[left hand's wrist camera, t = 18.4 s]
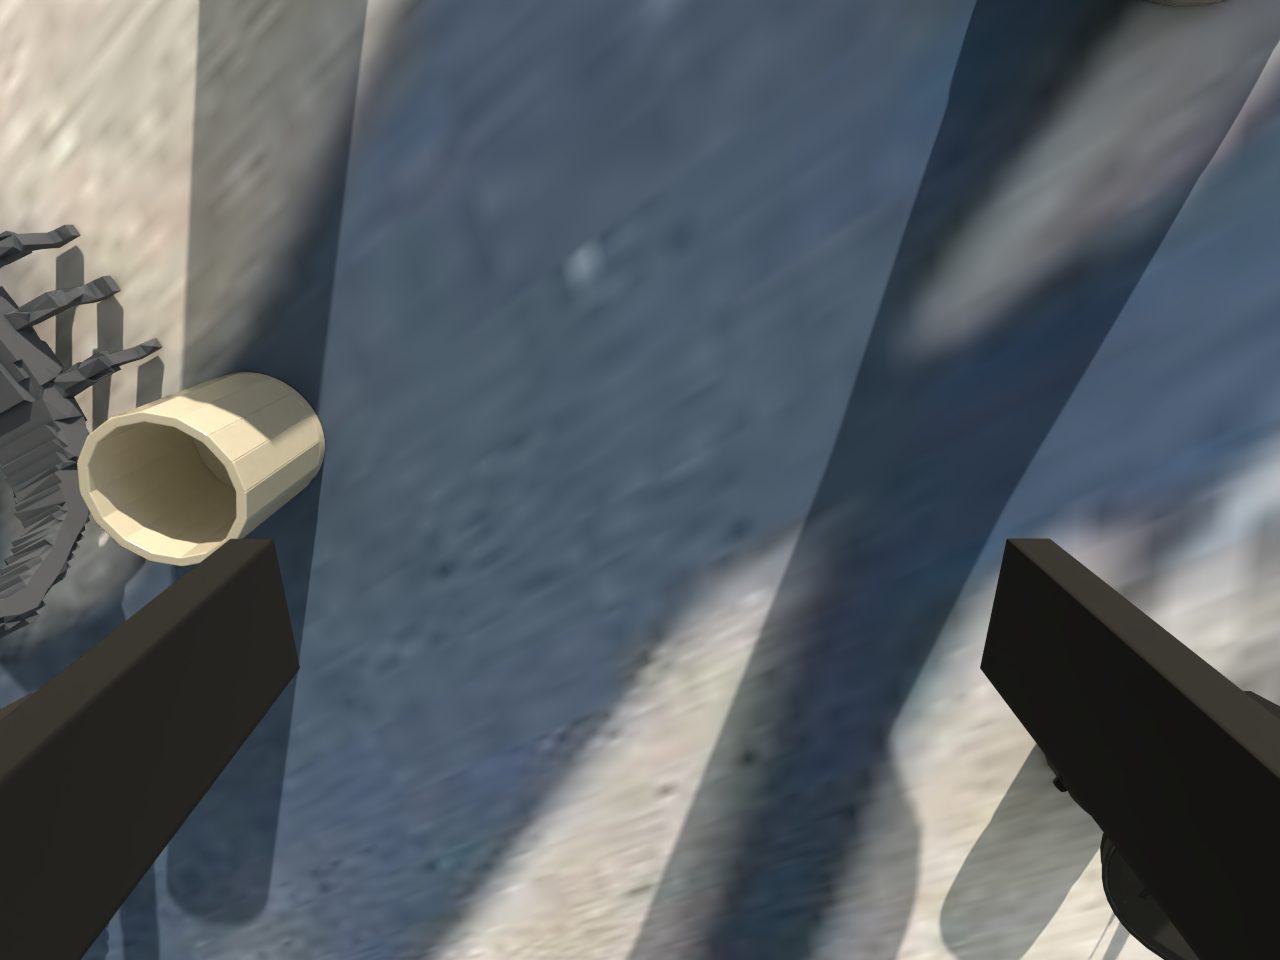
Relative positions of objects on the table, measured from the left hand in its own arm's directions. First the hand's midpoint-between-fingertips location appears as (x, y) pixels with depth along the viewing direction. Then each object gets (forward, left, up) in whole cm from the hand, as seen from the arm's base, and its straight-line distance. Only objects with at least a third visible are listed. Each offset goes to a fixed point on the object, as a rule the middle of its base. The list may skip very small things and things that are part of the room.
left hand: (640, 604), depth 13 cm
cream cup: (+22, -8, -29) cm, 37 cm away
